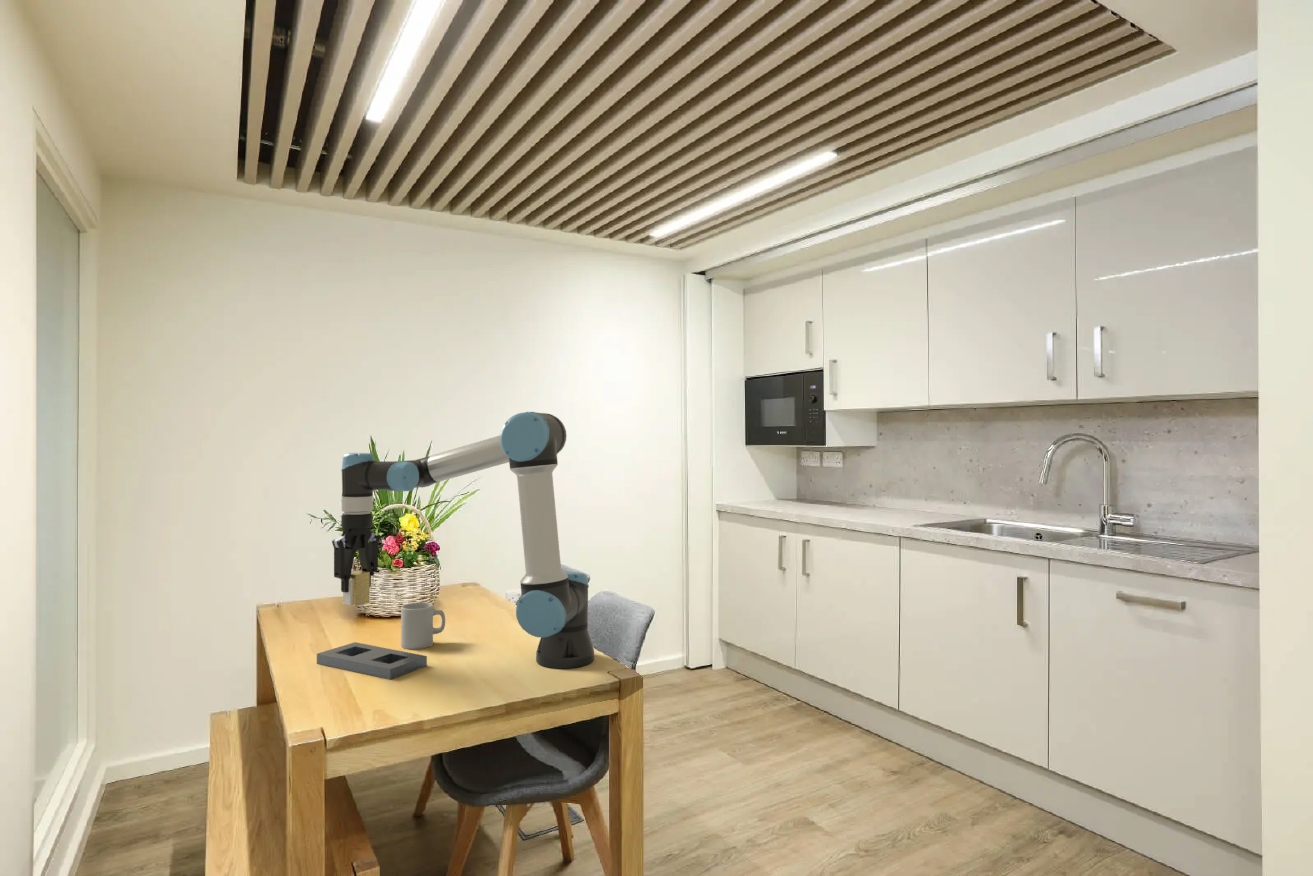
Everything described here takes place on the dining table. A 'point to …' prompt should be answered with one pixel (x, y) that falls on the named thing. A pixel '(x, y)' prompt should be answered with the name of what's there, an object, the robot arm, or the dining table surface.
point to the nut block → (360, 587)
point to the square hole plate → (372, 660)
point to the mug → (419, 625)
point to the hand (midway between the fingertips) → (356, 602)
